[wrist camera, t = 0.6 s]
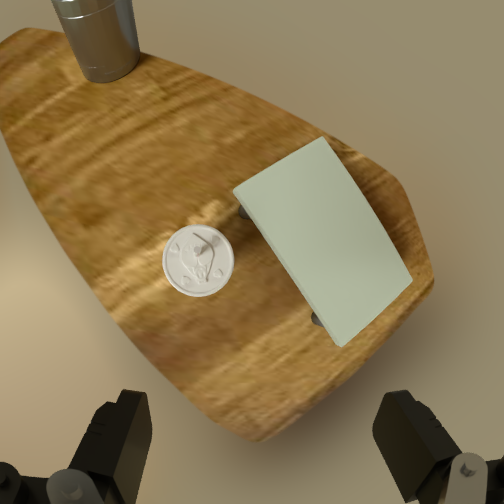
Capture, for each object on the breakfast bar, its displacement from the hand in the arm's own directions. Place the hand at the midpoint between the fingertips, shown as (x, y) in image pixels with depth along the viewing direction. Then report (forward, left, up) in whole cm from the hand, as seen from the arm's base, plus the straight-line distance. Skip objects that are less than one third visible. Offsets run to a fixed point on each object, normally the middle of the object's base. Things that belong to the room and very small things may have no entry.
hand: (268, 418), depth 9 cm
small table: (0, +15, -27) cm, 31 cm away
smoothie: (-6, +2, -28) cm, 28 cm away
